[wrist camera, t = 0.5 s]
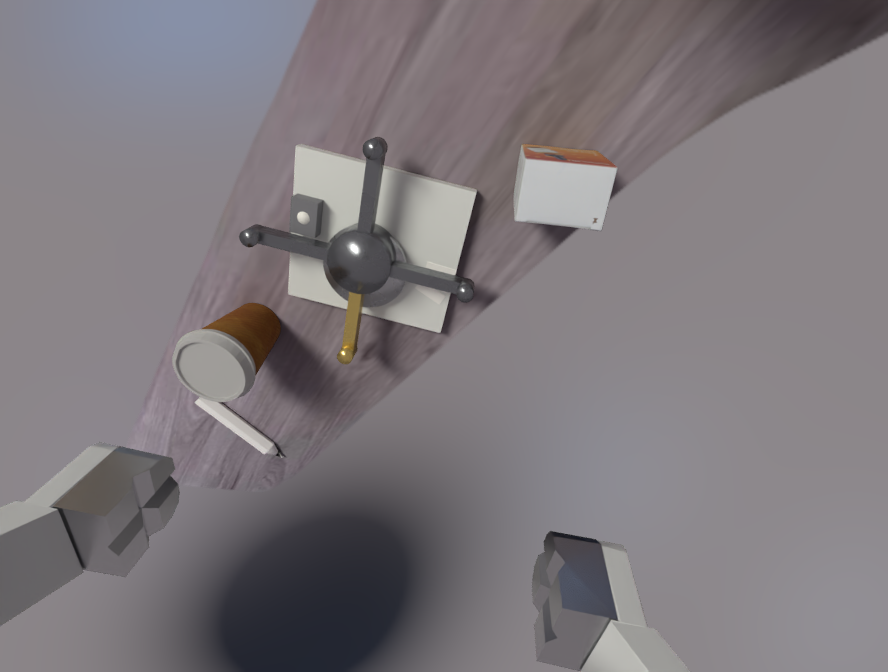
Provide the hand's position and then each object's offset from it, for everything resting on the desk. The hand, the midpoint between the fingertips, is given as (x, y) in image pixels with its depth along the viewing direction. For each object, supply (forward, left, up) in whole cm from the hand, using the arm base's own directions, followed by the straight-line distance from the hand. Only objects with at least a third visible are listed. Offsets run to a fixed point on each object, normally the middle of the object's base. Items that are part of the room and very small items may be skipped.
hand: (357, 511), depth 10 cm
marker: (+46, -26, -45) cm, 70 cm away
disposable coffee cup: (+26, -24, -45) cm, 57 cm away
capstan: (+11, -10, -43) cm, 45 cm away
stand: (+11, -9, -45) cm, 47 cm away
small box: (-2, +8, -45) cm, 46 cm away
